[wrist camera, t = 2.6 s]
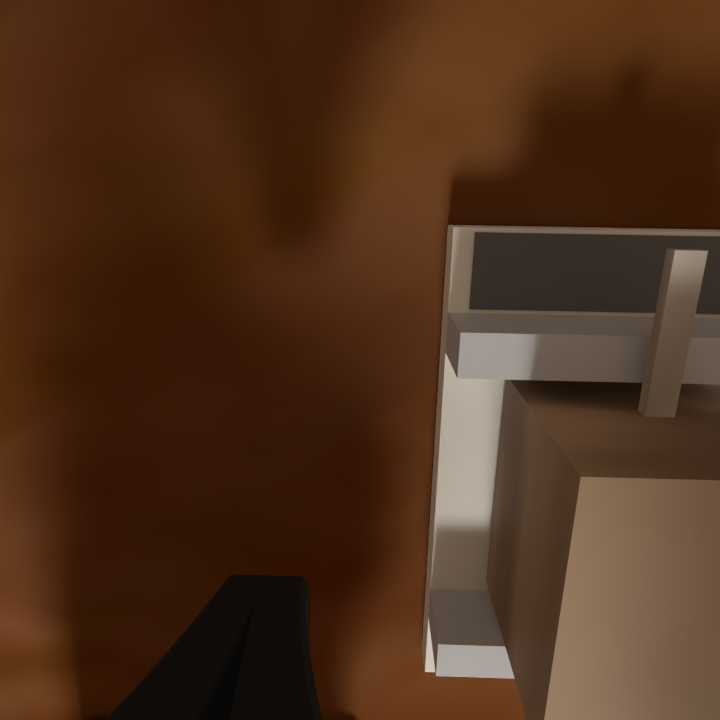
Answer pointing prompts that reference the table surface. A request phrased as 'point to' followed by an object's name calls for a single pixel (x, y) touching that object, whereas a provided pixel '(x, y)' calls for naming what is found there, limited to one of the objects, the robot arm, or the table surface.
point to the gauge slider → (614, 533)
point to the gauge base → (531, 362)
